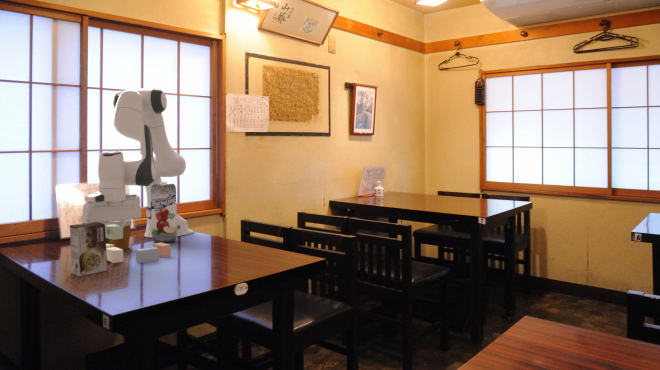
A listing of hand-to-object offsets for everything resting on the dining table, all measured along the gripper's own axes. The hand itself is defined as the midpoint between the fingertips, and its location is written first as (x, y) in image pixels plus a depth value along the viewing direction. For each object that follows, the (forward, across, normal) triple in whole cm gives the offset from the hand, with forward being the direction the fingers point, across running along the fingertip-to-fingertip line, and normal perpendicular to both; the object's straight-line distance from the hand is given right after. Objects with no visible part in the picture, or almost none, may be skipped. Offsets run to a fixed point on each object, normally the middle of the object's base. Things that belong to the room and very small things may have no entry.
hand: (113, 233), depth 171 cm
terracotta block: (+10, -16, +5) cm, 20 cm away
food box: (+10, +13, +10) cm, 19 cm away
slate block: (+10, -8, +9) cm, 16 cm away
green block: (+2, 0, 0) cm, 2 cm away
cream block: (+10, 0, 0) cm, 10 cm away
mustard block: (+10, -1, -11) cm, 15 cm away
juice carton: (+10, -31, -19) cm, 38 cm away
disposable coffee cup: (+10, -11, -19) cm, 24 cm away
